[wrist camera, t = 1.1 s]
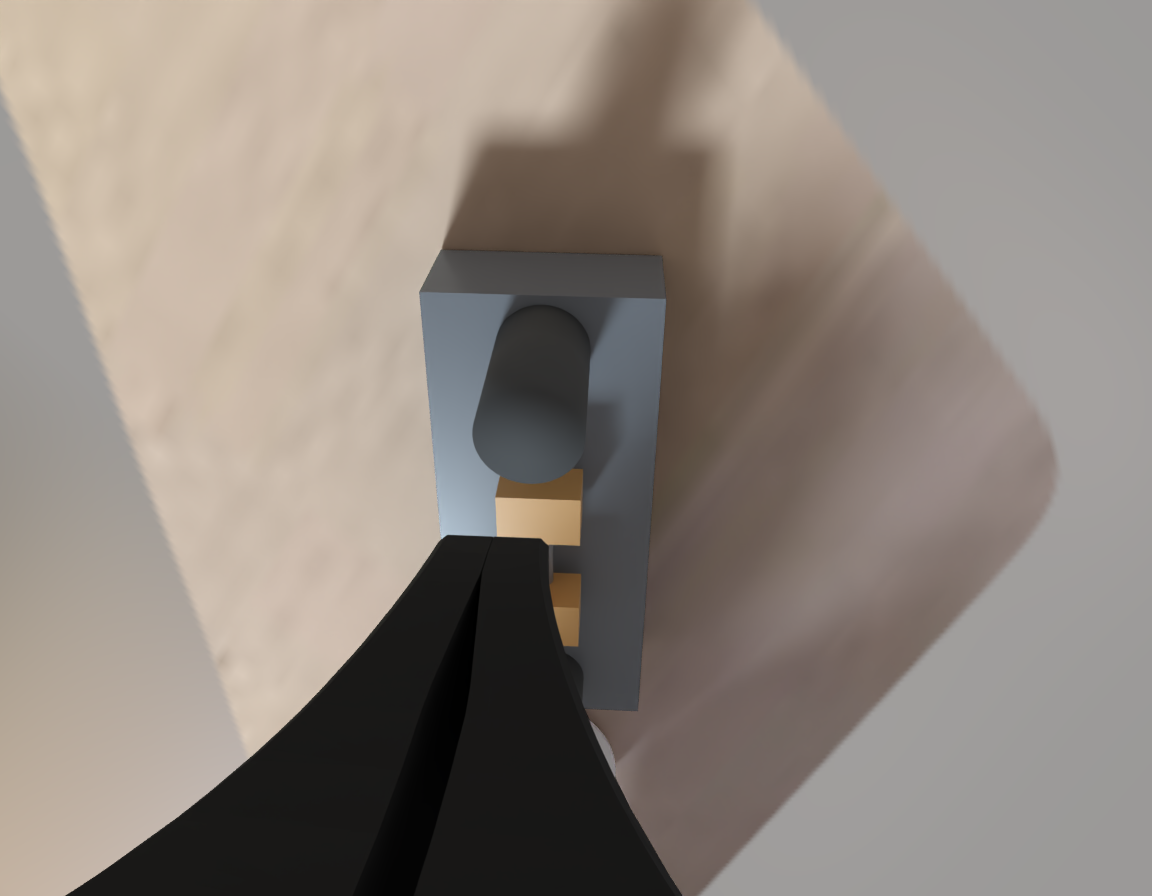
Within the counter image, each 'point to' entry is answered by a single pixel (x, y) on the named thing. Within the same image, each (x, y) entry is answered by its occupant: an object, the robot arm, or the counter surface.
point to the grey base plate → (613, 431)
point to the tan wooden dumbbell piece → (548, 534)
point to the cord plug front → (535, 396)
